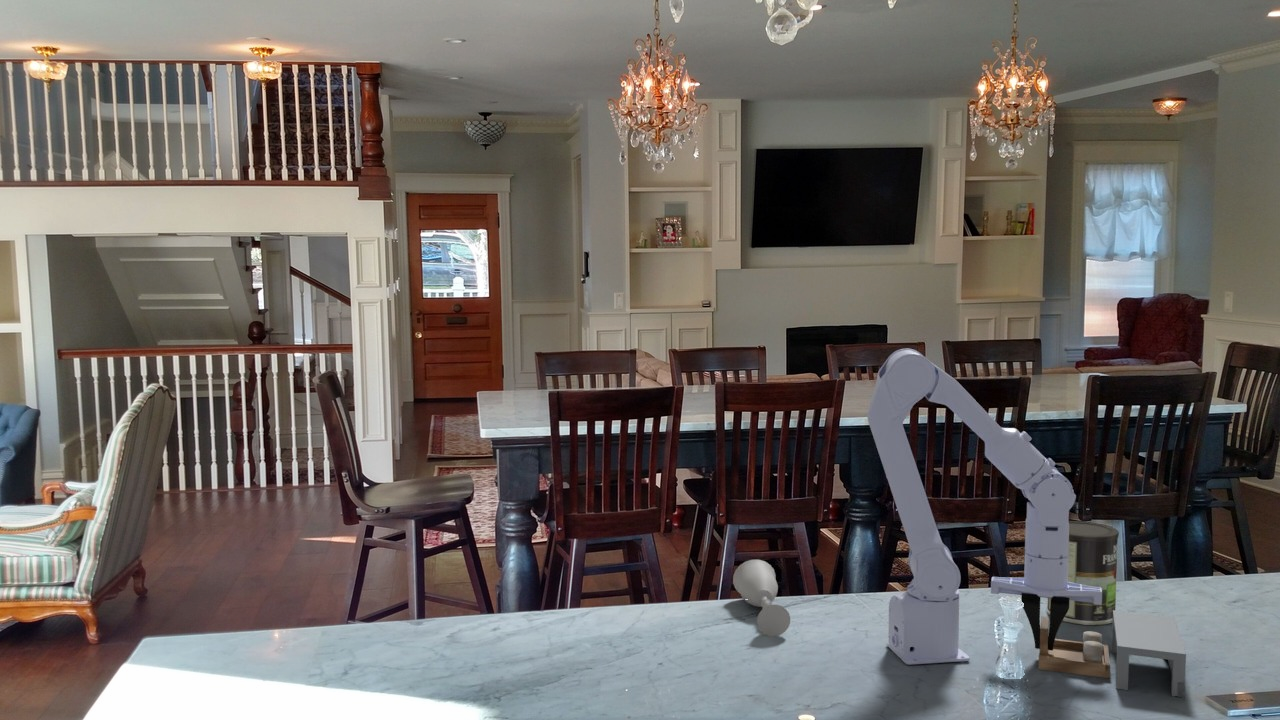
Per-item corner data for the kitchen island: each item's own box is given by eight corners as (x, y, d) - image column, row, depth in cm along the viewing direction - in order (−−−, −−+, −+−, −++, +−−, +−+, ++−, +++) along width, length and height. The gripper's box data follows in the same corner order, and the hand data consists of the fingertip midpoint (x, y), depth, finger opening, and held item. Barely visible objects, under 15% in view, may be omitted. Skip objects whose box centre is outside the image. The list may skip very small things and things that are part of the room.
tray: (1038, 669, 142) (1039, 632, 142) (1039, 648, 150) (1040, 614, 149) (1109, 678, 139) (1110, 641, 138) (1107, 657, 146) (1108, 621, 146)
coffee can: (1122, 612, 165) (1125, 526, 164) (1107, 630, 157) (1109, 540, 155) (1056, 600, 171) (1058, 517, 170) (1037, 617, 163) (1039, 530, 162)
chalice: (800, 637, 156) (778, 594, 174) (794, 595, 155) (773, 556, 173) (752, 645, 156) (735, 601, 174) (747, 603, 155) (730, 563, 173)
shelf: (1116, 688, 135) (1117, 645, 135) (1111, 649, 149) (1112, 610, 149) (1184, 697, 132) (1186, 654, 132) (1173, 656, 146) (1174, 616, 146)
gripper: (990, 556, 143) (988, 650, 145) (1103, 566, 138) (1100, 664, 139) (993, 543, 150) (991, 633, 151) (1102, 552, 144) (1099, 646, 146)
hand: (1044, 647), depth 146 cm, fingers closed on tray
